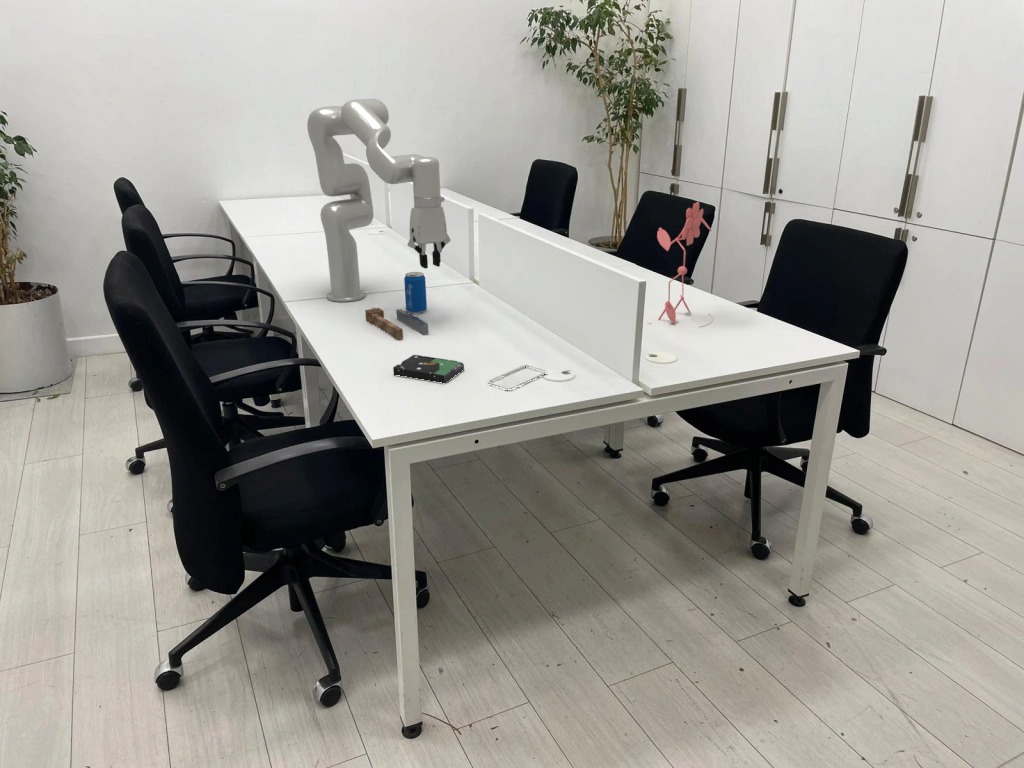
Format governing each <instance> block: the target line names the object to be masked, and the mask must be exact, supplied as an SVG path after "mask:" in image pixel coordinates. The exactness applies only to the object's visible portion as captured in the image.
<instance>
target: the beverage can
mask: <svg viewBox="0 0 1024 768" xmlns="http://www.w3.org/2000/svg"><path fill="white" fill-rule="evenodd" d="M403 281H404V282H403V283H404V297H405V300H404V301H405V311H406V312H408V313H409V312H410V314H412V313H420V314H423V313H425V311H427V308H428V304H427V289H426V288H427V283H426V276H425V275H424V272H420V271H410V272H407V273H405V276H404V277H403ZM422 312H423V313H422Z"/></svg>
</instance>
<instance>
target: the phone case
mask: <svg viewBox="0 0 1024 768" xmlns="http://www.w3.org/2000/svg"><path fill="white" fill-rule="evenodd" d="M525 367H527V368H525ZM529 367H530V368H533V369H536V370H540V371H543V372H541V373H539V374H538V373H537V374H536V375H534V376H531V377H529V378H528V379H526V380H524V381H521V382H518V383H517V384H514V385H512V386H509V387H507V386H505V385H501V384H499V383H496V382H495V383H494V382H493V381H495V380H497V379H499V378H503V377H502V376H506V375H508V374H510V375H511V373H512V374H514V373H513V372H515V371H517V370H519V371H521V370H523V369H522V368H524V369H528V368H529ZM530 368H529V369H530ZM520 369H521V370H520ZM517 372H518V371H517ZM546 372H547V373H548V370H547V369H544V368H541V367H537V366H533V365H529V364H523V365H520V366H518V367H516V368H513V369H511V370H509V371H506V372H504V373H502V374H500V375H498V376H495V377H493V378H491V379H488V380H487V381H486V384H487V383H488V384H491V385H494V386H498V387H502V388H505V389H512V388H514V387H516V386H519V385H522V384H524V383H526V382H528V381H530V380H533V379H535V378H538V377H540V376H542V375H543V374H545V373H546ZM515 373H516V372H515ZM508 376H509V375H508ZM506 377H507V376H506ZM540 378H541V377H540ZM538 379H539V378H538ZM491 381H492V382H491Z"/></svg>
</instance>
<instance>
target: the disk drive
mask: <svg viewBox="0 0 1024 768" xmlns="http://www.w3.org/2000/svg"><path fill="white" fill-rule="evenodd" d="M392 369H393V371H392V372H393V375H394V376H395V375H400V376H399V377H401V376H407V377H412V378H411V379H413V378H418V379H417V380H419V379H424V380H423V381H425V380H430V381H429V382H431V381H436V382H442V383H441V384H443V383H446V382H447V381H448V382H450V381H451V380H452V379H451V378H453V377H454V376H455V375H457V374H458V373H459V372H461V371H462V370H464V371H465V364H464V363H463V362H462V361H458V360H454V359H452V360H450V359H445V358H438V357H432V356H425V355H419V354H412V355H410V356H409V357H408V358H406V359H404V360H402V362H401V363H400V364H396V365H395V366H393V367H392ZM462 372H463V371H462ZM462 372H461V373H462ZM458 375H459V374H458ZM458 375H457V376H458ZM407 377H406V378H407ZM455 377H456V376H455ZM455 377H454V378H455ZM454 378H453V379H454ZM450 379H451V380H450ZM449 380H450V381H449ZM436 382H435V383H436ZM448 382H447V383H448ZM447 383H446V384H447Z"/></svg>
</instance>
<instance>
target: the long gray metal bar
mask: <svg viewBox="0 0 1024 768" xmlns="http://www.w3.org/2000/svg"><path fill="white" fill-rule="evenodd" d="M395 310H396V311H395V312H396V320H398V321H399V322H401V323H403V324H404V325H406V326H408V327H410V328H412V329H413V330H415V331H417V332H419V333H420V334H421V335H428V334H429V323H428V322H426V321H424V320H422V319H421V318H419V317H417V316H415V315H414V314H412V313H409V312H408V311H407V310H404V309H403V308H398V309H395Z"/></svg>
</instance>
